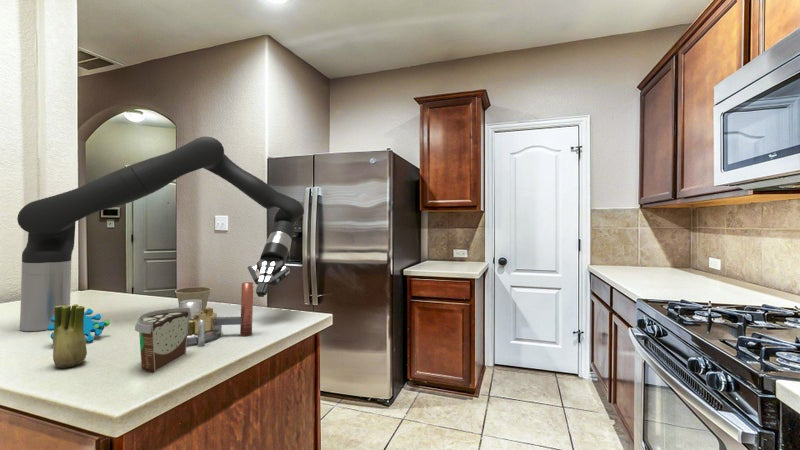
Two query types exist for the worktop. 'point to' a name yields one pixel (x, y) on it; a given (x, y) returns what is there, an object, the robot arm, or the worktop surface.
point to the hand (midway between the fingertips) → (260, 295)
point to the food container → (162, 337)
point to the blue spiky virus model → (87, 325)
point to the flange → (199, 325)
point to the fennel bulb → (69, 336)
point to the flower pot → (194, 294)
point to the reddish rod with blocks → (242, 320)
